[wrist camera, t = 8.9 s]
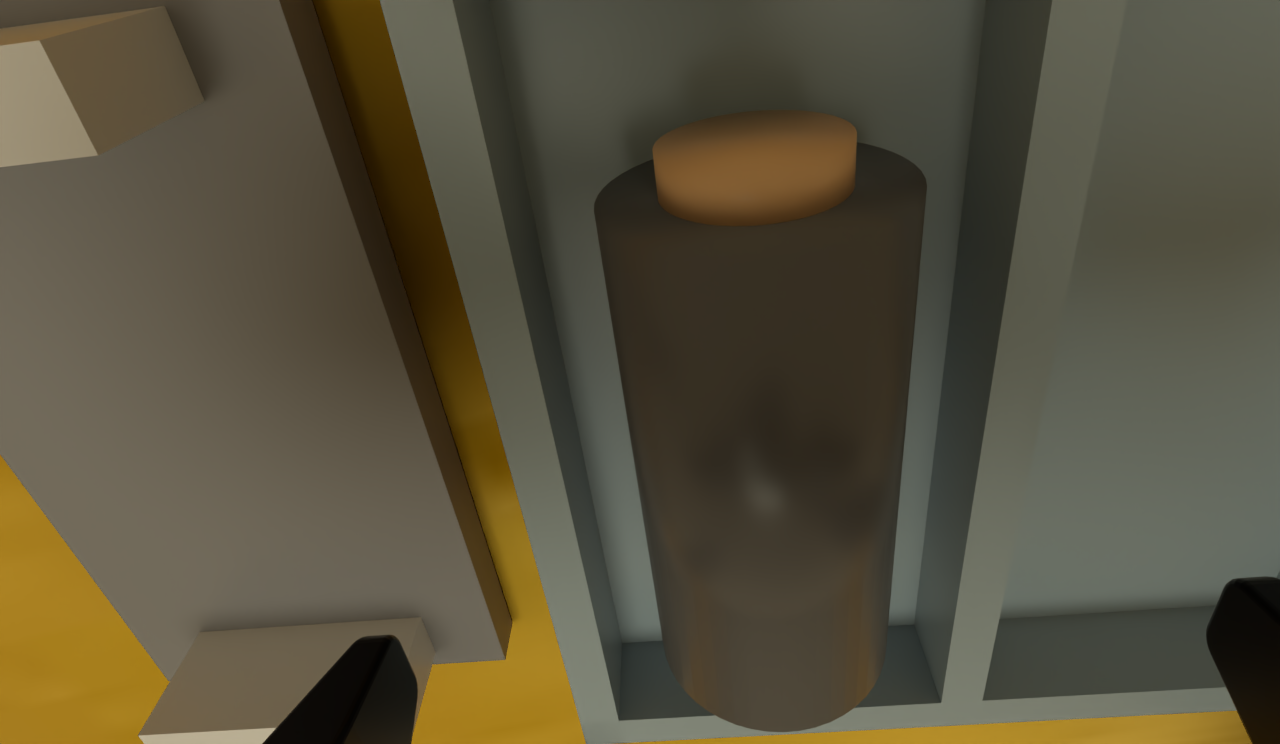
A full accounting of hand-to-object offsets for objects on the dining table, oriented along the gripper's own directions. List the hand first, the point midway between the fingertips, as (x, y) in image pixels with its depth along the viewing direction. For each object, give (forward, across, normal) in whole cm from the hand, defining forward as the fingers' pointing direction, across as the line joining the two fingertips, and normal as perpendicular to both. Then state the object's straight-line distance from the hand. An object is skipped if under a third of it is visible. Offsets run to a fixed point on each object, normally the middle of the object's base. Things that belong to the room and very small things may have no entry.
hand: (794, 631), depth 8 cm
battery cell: (+6, 0, 0) cm, 6 cm away
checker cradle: (+6, +10, 0) cm, 12 cm away
